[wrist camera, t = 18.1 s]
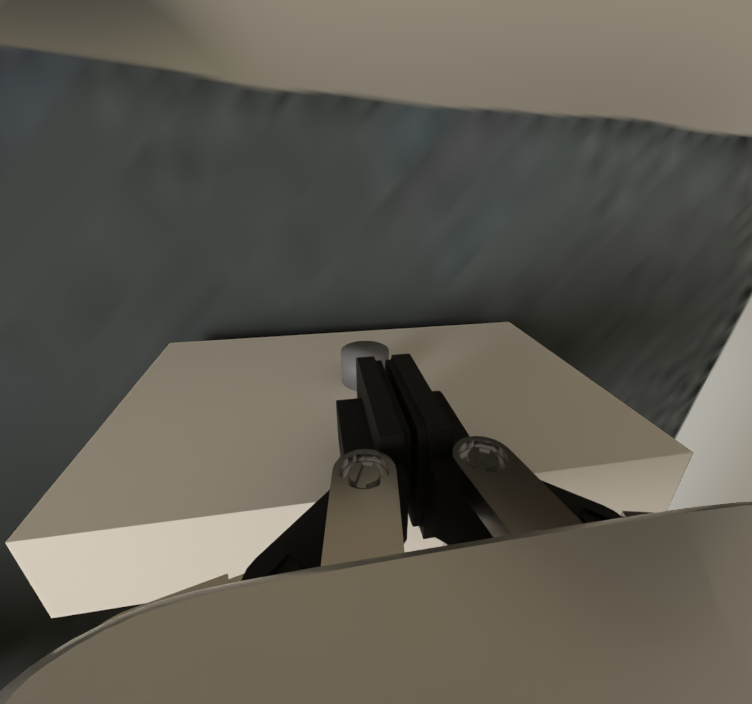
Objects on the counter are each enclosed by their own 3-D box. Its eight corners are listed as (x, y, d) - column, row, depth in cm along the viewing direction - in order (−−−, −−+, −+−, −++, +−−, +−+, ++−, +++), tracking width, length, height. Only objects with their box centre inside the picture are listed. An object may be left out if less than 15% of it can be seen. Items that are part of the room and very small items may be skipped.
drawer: (238, 610, 29) (199, 858, 19) (163, 317, 19) (-22, 499, 8) (468, 571, 32) (549, 766, 22) (512, 299, 22) (710, 416, 11)
